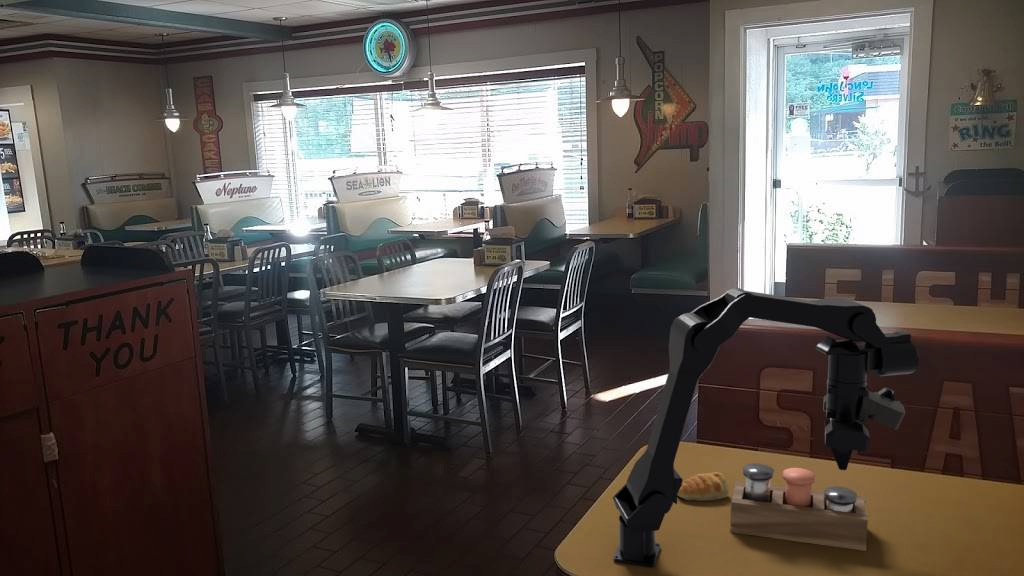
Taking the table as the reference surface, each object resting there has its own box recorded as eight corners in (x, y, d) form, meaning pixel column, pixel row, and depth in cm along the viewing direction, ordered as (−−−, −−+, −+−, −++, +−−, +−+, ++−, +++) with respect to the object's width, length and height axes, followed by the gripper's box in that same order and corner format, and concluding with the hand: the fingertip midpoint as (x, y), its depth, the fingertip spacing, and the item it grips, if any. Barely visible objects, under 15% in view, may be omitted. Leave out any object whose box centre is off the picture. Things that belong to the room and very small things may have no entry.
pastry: (685, 506, 144) (685, 487, 143) (668, 491, 150) (668, 472, 149) (732, 498, 146) (732, 479, 145) (713, 483, 152) (713, 465, 152)
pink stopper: (813, 515, 130) (815, 482, 129) (781, 511, 132) (782, 478, 131) (813, 501, 135) (814, 469, 134) (782, 497, 137) (783, 466, 136)
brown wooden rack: (866, 550, 127) (867, 521, 126) (730, 531, 134) (730, 503, 133) (862, 524, 135) (864, 495, 134) (734, 507, 142) (735, 480, 141)
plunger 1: (772, 509, 133) (773, 477, 132) (740, 505, 134) (741, 473, 133) (773, 496, 137) (774, 465, 136) (743, 492, 139) (744, 461, 138)
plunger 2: (855, 535, 129) (857, 502, 128) (822, 530, 130) (824, 497, 129) (854, 520, 133) (856, 488, 132) (822, 516, 135) (823, 484, 134)
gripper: (909, 401, 115) (903, 501, 119) (896, 364, 132) (891, 451, 136) (827, 395, 119) (823, 492, 122) (825, 359, 136) (821, 445, 139)
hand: (842, 469), depth 130 cm, fingers closed
